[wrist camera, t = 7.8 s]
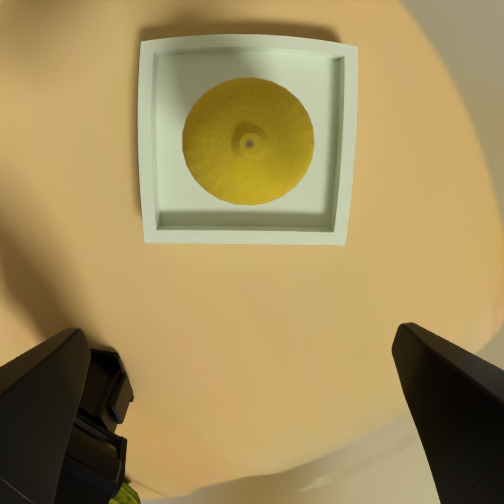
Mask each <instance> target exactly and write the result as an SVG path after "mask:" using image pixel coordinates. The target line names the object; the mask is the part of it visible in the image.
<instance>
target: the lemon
mask: <svg viewBox="0 0 504 504" xmlns="http://www.w3.org/2000/svg"><path fill="white" fill-rule="evenodd" d="M314 145H315V143H314V130H313V126H312V123H311V120H310V117H309V115H308V112H307V111H306V109H305V108H304V106H303V105H302V104H301V102H300V101H299V99H298V98H296V97H295V96H294V95H293V94H292V93H291V92H290V91H288V90H287V89H286V88H284V87H282V86H280V85H278V84H276V83H274V82H272V81H269V80H264V79H259V78H254V77H252V78H236V79H232V80H229V81H225V82H222V83H220V84H218V85H216V86H215V87H213V88H211V89H210V90H208V91H207V92H205V93H204V94H203V95H202V96H201V97H200V98H199V99H198V101H197V102H196V103H195V104H194V105H193V107H192V109H191V110H190V112H189V114H188V116H187V118H186V121H185V125H184V128H183V132H182V151H183V155H184V159H185V162H186V166H187V168H188V169H189V171H190V173H191V174H192V176H193V178H194V180H195V181H196V182H197V183H198V184H199V185H200V186H201V187H202V188H203V189H204V190H205V191H206V192H208V193H210V194H211V195H213V196H215V197H216V198H218V199H219V200H222V201H226V202H229V203H232V204H235V205H249V206H252V205H258V204H265V203H269V202H271V201H273V200H276V199H278V198H280V197H283V196H284V195H285V194H286V193H288V192H289V191H290V190H292V189H293V188H294V187H296V185H297V184H298V183H299V182H300V180H301V179H302V178H303V177H304V176H305V174H306V172H307V170H308V168H309V165H310V163H311V161H312V157H313V151H314Z"/></svg>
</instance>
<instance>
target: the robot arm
mask: <svg viewBox="0 0 504 504" xmlns="http://www.w3.org/2000/svg"><path fill="white" fill-rule="evenodd" d="M392 355H393V358H394V362H395V365H396V369H397V372H398V375H399V379H400V382H401V386H402V390H403V393H404V396H405V399H406V402H407V404H408V407H409V409H410V412H411V415H412V417H413V420H414V423H415V425H416V428H417V431H418V434H419V436H420V439H421V442H422V445H423V448H424V450H425V454H426V457H427V460H428V463H429V466H430V469H431V472H432V475H433V479H434V482H435V486H436V489H437V492H438V496H439V500H440V503H441V504H504V370H502V369H500V368H498V367H496V366H495V365H493V364H491V363H489V362H487V361H485V360H483V359H481V358H480V357H478V356H476V355H474V354H472V353H470V352H468V351H466V350H464V349H463V348H461V347H459V346H457V345H455V344H453V343H451V342H449V341H447V340H445V339H444V338H442V337H440V336H438V335H436V334H434V333H432V332H430V331H428V330H426V329H425V328H423V327H421V326H419V325H417V324H415V323H412V322H410V323H403V324H400V325H399V327H398V329H397V332H396V335H395V338H394V341H393V344H392ZM114 358H115V359H114ZM133 399H134V396H133V391H132V388H131V385H130V382H129V380H128V377H127V375H126V374H125V371H124V368H123V366H122V363H121V360H120V357H119V355H118V354H116V353H112V352H105V351H98V350H91V349H90V348H89V346H88V343H87V340H86V337H85V335H84V332H83V331H82V329H80V328H74V327H69V328H67V329H65V330H63V331H61V332H60V333H58V334H56V335H54V336H53V337H51V338H49V339H47V340H46V341H44V342H42V343H40V344H39V345H37V346H35V347H34V348H32V349H30V350H28V351H27V352H25V353H23V354H22V355H20V356H18V357H16V358H15V359H13V360H11V361H10V362H8V363H6V364H5V365H3V366H1V367H0V504H109V501H110V500H111V499H113V498H114V497H115V496H116V495H117V494H118V492H119V490H120V488H121V486H122V483H123V480H124V474H125V461H126V449H127V439H126V438H124V437H122V436H121V437H120V436H118V435H116V434H115V430H116V427H117V424H122V423H123V421H124V418H125V415H126V412H127V409H128V406H129V402H133Z"/></svg>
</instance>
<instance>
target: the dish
mask: <svg viewBox="0 0 504 504" xmlns="http://www.w3.org/2000/svg"><path fill="white" fill-rule="evenodd" d="M252 77H254V78H259V79H264V80H269V81H272V82H274V83H276V84H278V85H280V86H282V87H284V88H286V89H287V90H288V91H290V92H291V93H292V94H293V95H294V96H295V97H296V98H298V99H299V101H300V102H301V104H302V105H303V106H304V108H305V109H306V111H307V112H308V115H309V117H310V120H311V123H312V126H313V130H314V143H315V145H314V151H313V157H312V161H311V163H310V165H309V168H308V170H307V172H306V174H305V176H304V177H303V178H302V179H301V180H300V182H299V183H298V184H297V185H296V187H294V188H293V189H292V190H290V191H289V192H288V193H286V194H285V195H284V196H283V197H280V198H278V199H276V200H273V201H271V202H269V203H265V204H258V205H252V206H249V205H235V204H232V203H229V202H226V201H222V200H219V199H218V198H216V197H215V196H213V195H211V194H210V193H208V192H206V191H205V190H204V189H203V188H202V187H201V186H200V185H199V184H198V183H197V182H196V181H195V180H194V178H193V176H192V174H191V173H190V171H189V169H188V168H187V166H186V162H185V159H184V155H183V151H182V132H183V128H184V125H185V121H186V118H187V116H188V114H189V112H190V110H191V109H192V107H193V105H194V104H195V103H196V102H197V101H198V99H199V98H200V97H201V96H202V95H203V94H204V93H205V92H207V91H208V90H210V89H211V88H213V87H215V86H216V85H218V84H220V83H222V82H225V81H229V80H232V79H236V78H252ZM357 104H358V46H353V45H348V44H342V43H337V42H331V41H324V40H317V39H309V38H301V37H290V36H278V35H260V34H212V35H194V36H182V37H172V38H163V39H155V40H148V41H142V42H141V47H140V62H139V82H138V157H139V179H140V195H141V208H142V219H143V230H144V239H145V243H214V244H295V245H345V241H346V234H347V227H348V219H349V210H350V202H351V192H352V182H353V171H354V159H355V145H356V128H357Z"/></svg>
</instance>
